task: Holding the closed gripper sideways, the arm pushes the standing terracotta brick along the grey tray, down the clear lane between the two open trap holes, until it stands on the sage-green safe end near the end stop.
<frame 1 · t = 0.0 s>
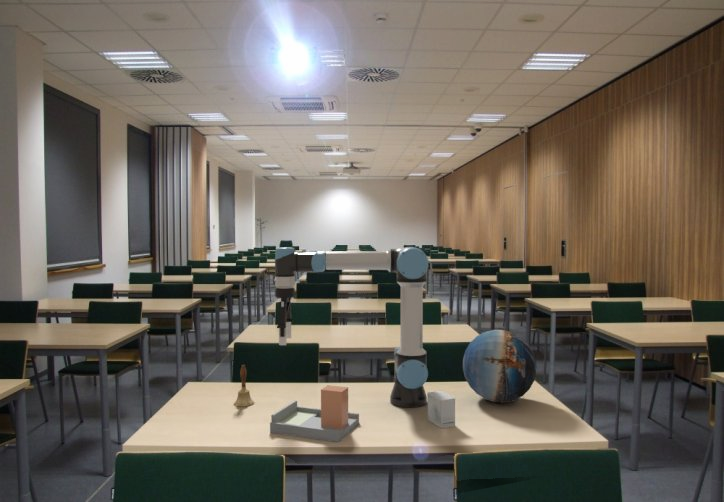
hand: (285, 341, 215), 28 cm above the table, fingers open, 13 cm apart
decorative globe: (498, 401, 231), on the table
skincare box: (440, 423, 204), on the table
hand bell: (244, 404, 228), on the table
terracotta brick: (334, 424, 197), point 2 cm above the table, touching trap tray
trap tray: (315, 427, 199), on the table
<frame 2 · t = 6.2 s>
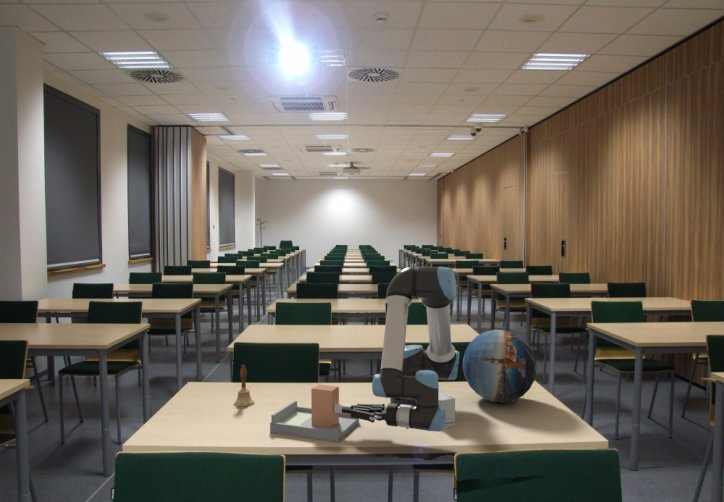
hand: (334, 408, 195), 8 cm above the table, fingers closed
terracotta brick: (325, 423, 198), point 2 cm above the table, touching gripper
everything else where it was.
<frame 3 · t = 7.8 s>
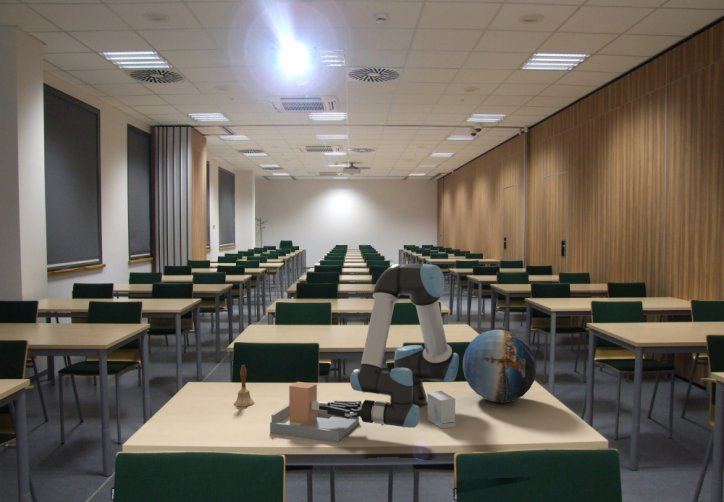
hand: (312, 404, 199), 8 cm above the table, fingers closed
terracotta brick: (303, 420, 201), point 2 cm above the table, touching gripper, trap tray
everything else where it was.
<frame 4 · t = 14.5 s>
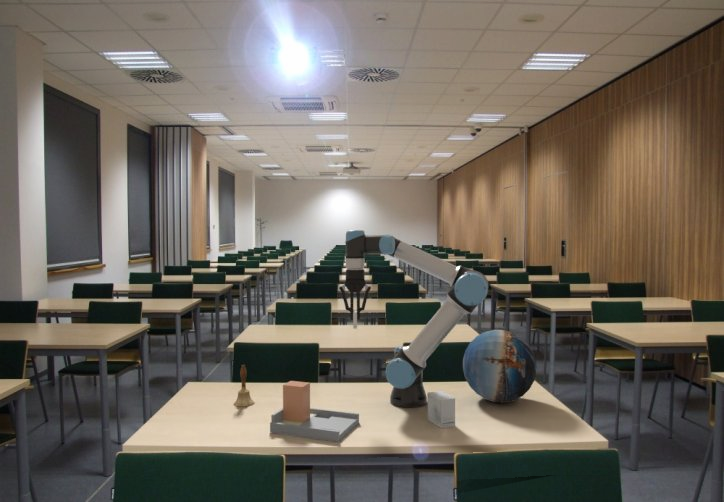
hand: (355, 327, 220), 32 cm above the table, fingers closed
terracotta brick: (296, 418, 203), point 2 cm above the table, touching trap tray
everything else where it was.
at the end: terracotta brick inside the target area on the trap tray (1.2 cm from its centre), point 2.0 cm above the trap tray's base; terracotta brick tilted 0° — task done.
